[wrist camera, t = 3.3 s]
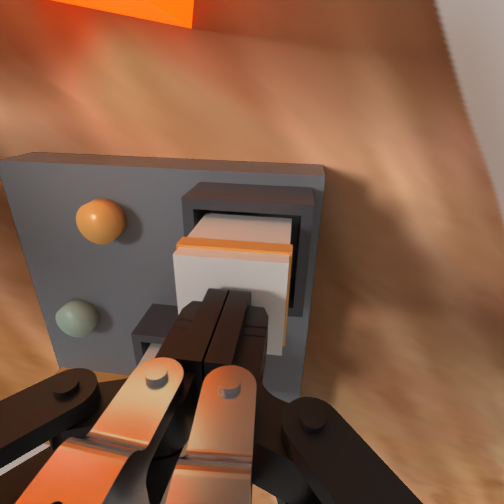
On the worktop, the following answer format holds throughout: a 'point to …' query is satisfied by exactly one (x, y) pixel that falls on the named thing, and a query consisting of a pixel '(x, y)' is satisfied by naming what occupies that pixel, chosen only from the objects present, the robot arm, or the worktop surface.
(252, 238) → the breaker tagged
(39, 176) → the breaker panel
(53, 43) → the worktop surface
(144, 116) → the worktop surface
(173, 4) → the orange juice
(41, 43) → the worktop surface
